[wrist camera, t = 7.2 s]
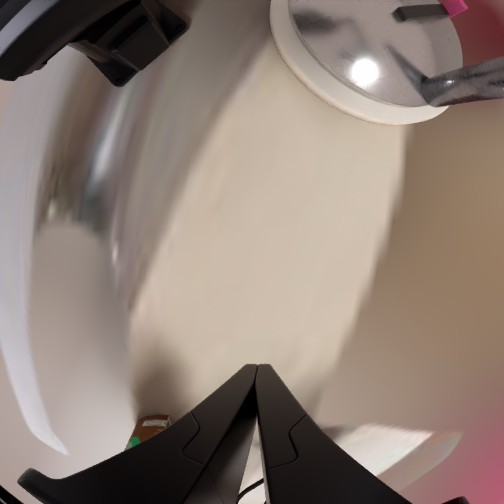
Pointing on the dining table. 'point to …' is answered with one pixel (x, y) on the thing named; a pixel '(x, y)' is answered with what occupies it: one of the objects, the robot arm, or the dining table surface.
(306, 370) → the dining table surface
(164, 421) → the food container
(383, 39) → the capstan dial
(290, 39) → the dial plinth
